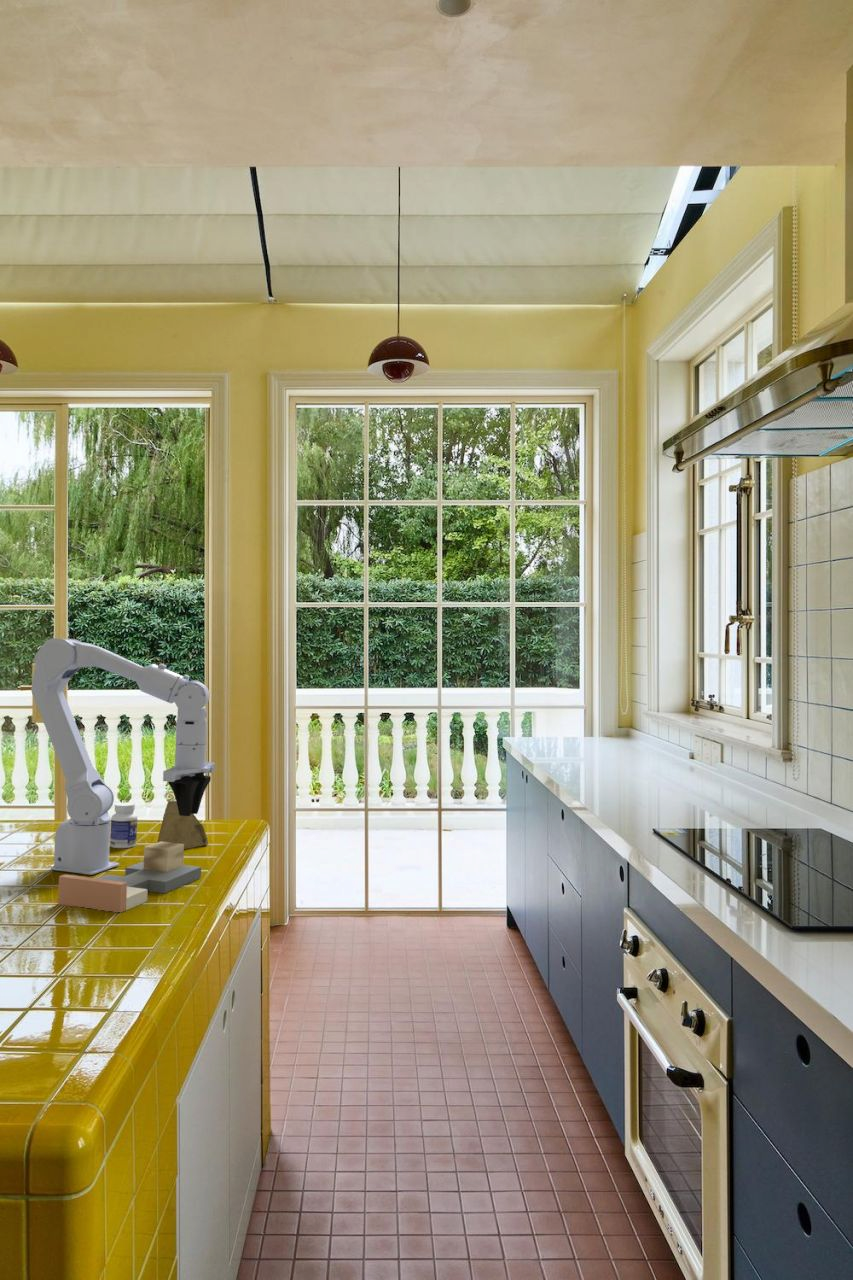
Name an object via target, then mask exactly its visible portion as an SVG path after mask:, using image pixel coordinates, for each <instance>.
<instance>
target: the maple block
mask: <svg viewBox="0 0 853 1280" xmlns="http://www.w3.org/2000/svg"><path fill="white" fill-rule="evenodd" d="M143 849H144V850H143V861H144V869H147V870H155V871H163V872H169V871H171V870H174V869H176V868H179V867H181V866H183V865H184V856H185V854H184V853H185V852H184V851H185V849H184V844H179V843H170V842H162V841H161V842H158V841H157V842H156V843H152V844H149V845H146V846H144V848H143Z"/></svg>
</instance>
